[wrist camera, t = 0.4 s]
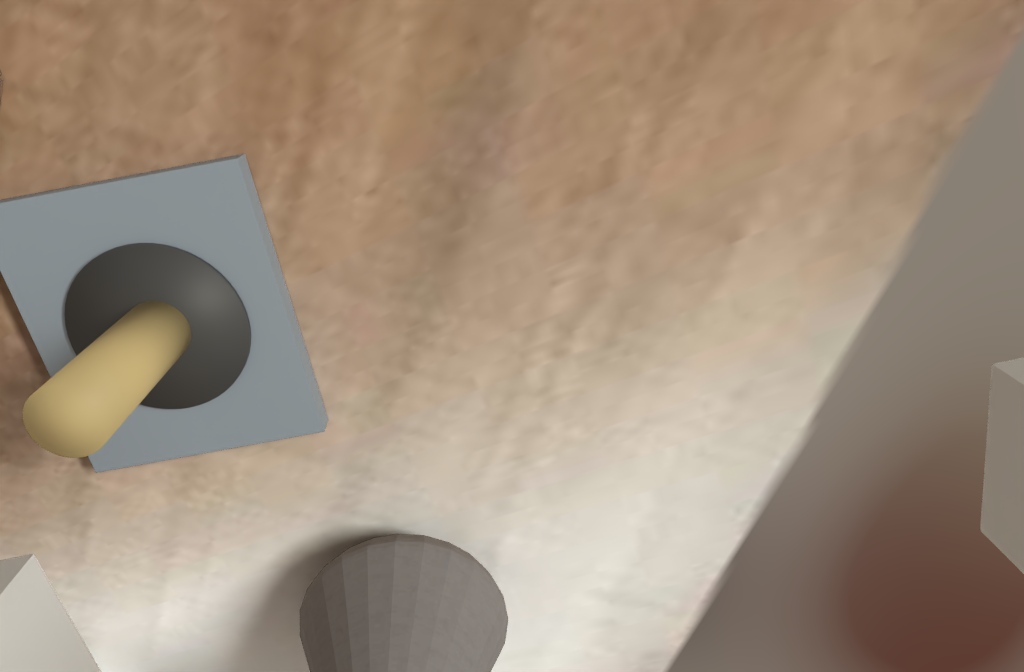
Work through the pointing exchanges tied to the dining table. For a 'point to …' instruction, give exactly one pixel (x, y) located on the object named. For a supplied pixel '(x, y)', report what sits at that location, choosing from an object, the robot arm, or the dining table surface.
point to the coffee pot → (403, 610)
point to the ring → (0, 87)
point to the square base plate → (157, 317)
